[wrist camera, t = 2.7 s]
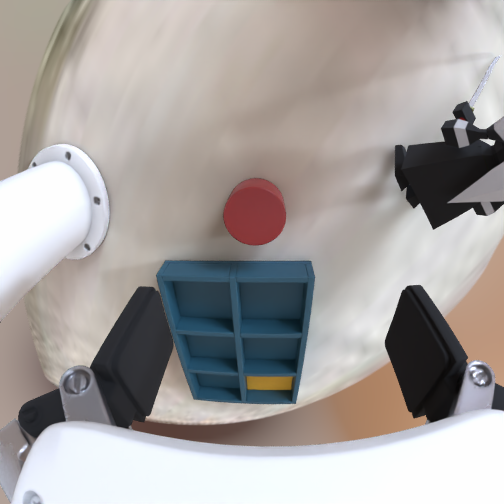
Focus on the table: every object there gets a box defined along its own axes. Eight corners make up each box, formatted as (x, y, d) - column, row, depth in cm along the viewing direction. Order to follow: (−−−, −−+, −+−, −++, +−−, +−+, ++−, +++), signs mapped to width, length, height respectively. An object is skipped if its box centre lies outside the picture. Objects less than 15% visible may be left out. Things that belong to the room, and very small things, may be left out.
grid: (197, 384, 35) (193, 399, 32) (165, 260, 25) (155, 275, 23) (295, 388, 34) (295, 403, 32) (311, 260, 25) (315, 276, 22)
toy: (438, 135, 26) (530, 107, 13) (416, 246, 19) (582, 226, 6) (408, 85, 24) (502, 47, 10) (370, 171, 16) (570, 112, 3)
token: (230, 230, 24) (225, 245, 21) (227, 178, 21) (221, 187, 19) (283, 230, 23) (285, 245, 21) (284, 177, 21) (286, 186, 19)
